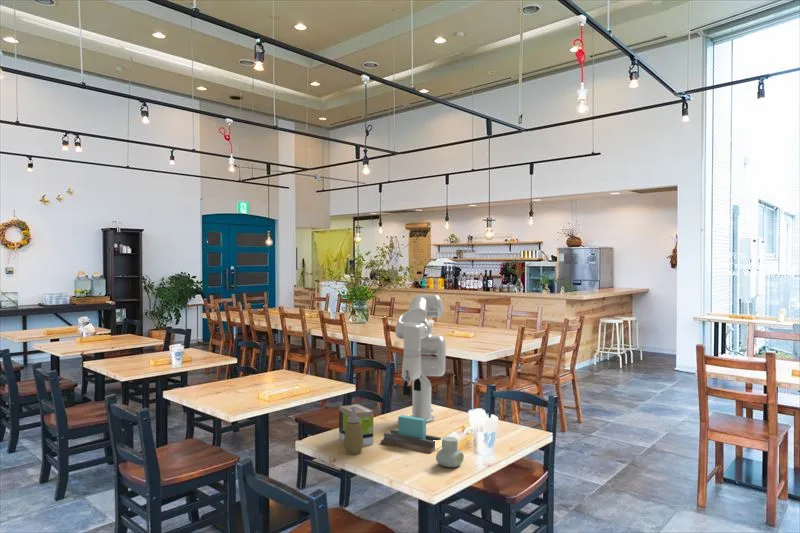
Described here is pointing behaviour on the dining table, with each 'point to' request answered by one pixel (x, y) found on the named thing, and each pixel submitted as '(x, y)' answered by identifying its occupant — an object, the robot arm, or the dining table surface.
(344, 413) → the tea box
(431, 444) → the track
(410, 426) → the door panel
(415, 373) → the robot arm
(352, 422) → the squeeze bottle
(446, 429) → the dining table surface
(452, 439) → the grey rounded branched piece
